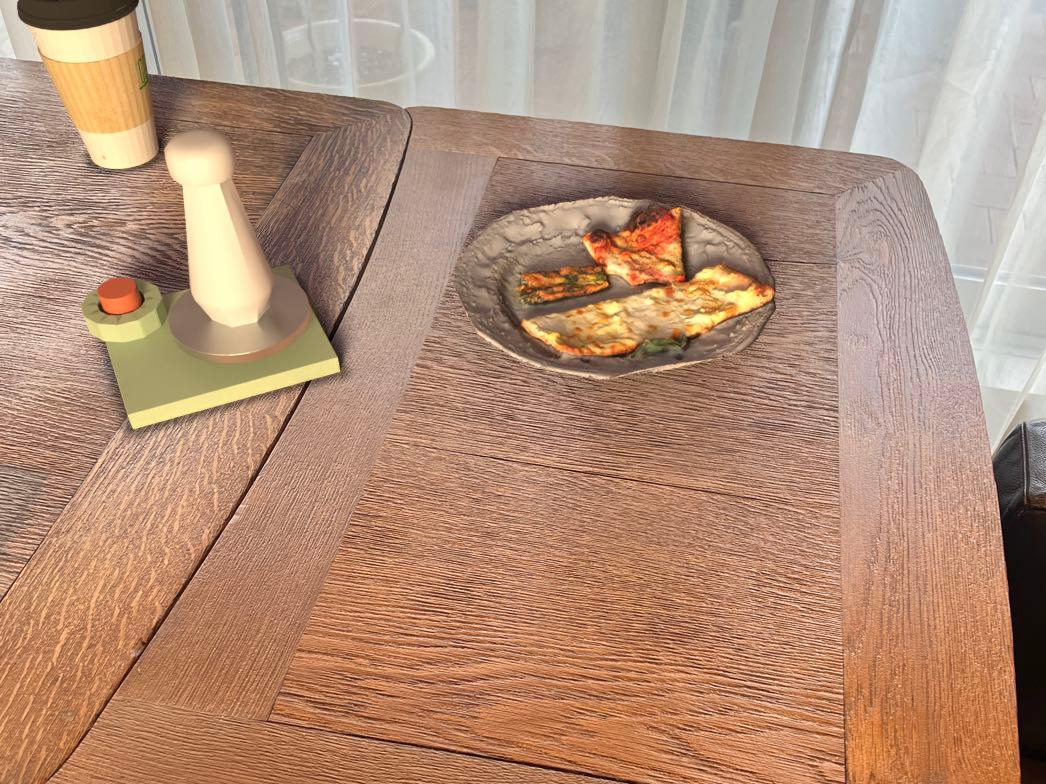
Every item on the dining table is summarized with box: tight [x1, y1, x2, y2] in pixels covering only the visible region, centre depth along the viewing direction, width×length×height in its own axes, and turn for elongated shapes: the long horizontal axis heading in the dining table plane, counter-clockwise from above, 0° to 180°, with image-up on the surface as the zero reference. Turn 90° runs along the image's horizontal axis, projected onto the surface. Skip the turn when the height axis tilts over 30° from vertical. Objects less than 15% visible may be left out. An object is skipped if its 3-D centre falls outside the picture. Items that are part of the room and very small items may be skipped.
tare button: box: [96, 276, 142, 316], centre depth 76 cm, size 3×3×2 cm
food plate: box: [453, 195, 777, 381], centre depth 80 cm, size 25×23×4 cm
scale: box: [80, 264, 341, 430], centre depth 77 cm, size 16×14×3 cm
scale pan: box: [168, 274, 311, 364], centre depth 75 cm, size 10×10×1 cm
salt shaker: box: [163, 128, 275, 328], centre depth 70 cm, size 6×6×13 cm
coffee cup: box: [16, 0, 160, 170], centre depth 91 cm, size 10×10×15 cm
